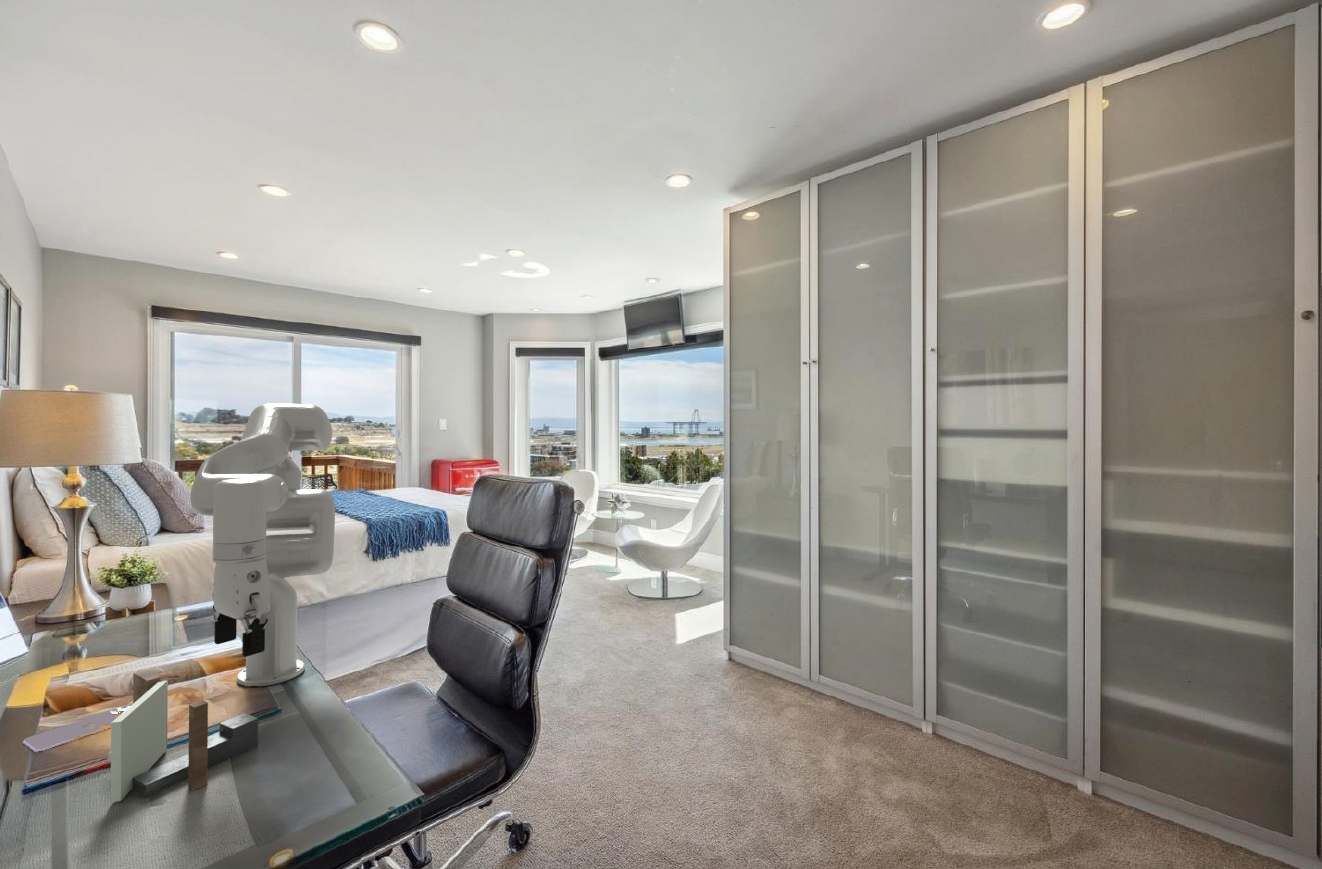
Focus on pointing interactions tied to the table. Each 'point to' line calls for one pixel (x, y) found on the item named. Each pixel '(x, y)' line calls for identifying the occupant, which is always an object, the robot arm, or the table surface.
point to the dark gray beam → (221, 747)
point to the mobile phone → (70, 731)
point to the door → (138, 739)
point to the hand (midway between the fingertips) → (239, 647)
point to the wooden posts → (196, 729)
